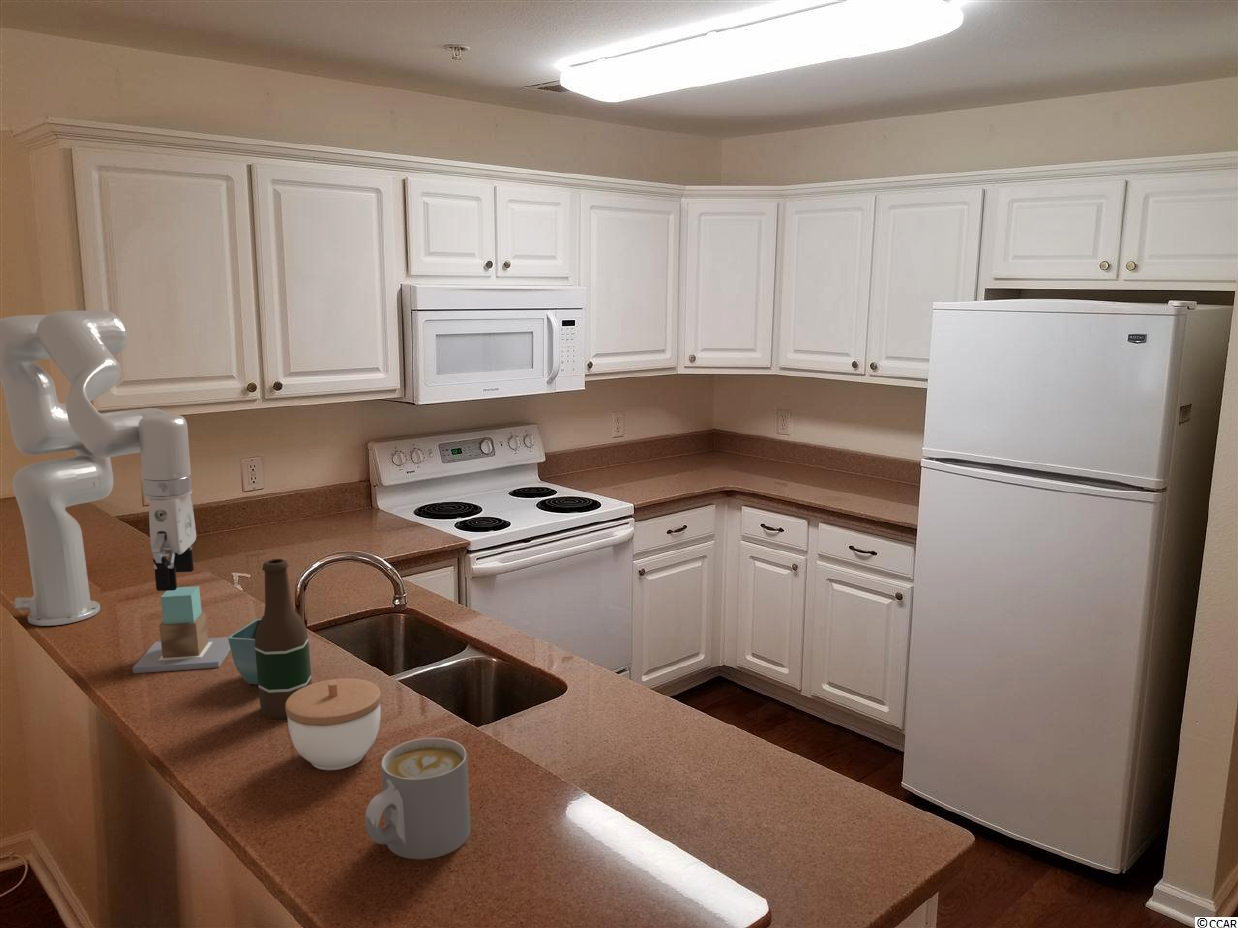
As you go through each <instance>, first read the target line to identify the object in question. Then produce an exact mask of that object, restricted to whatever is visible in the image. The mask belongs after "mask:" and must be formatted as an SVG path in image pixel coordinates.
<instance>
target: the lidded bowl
mask: <svg viewBox="0 0 1238 928" xmlns="http://www.w3.org/2000/svg"><path fill="white" fill-rule="evenodd" d="M381 701H382V693H381V689H380V687H379V686H378V685H376V683H374V682H371V681H369V680H366V679H362V678H361V679H360V678H352V677H351V678H349V677H347V678H344V677H343V678H333V679H327V680H321V681H317V682H314V683H312V684H311V685H308V686H305V687H303V688H301V689H299V690H297V691H296V692H294V693H293V694H292V695H291V696H290V697H289V698H288V699H287V701H286V705H285V708H286V714H287V718H288V719H287V726H288V732H289V735H290V739H291V741H292V744H293V746H294V748H295V749H296V751H297V752H298V754H300V756H301V757H302V758H303V759H305V760H306V761H308V762H309V763H311V765H312V766H313V767H314V768H315V769H319V770H322V771H338V770H343V769H346V768H347V769H348V768H350V767H352V766H354V765H357V764H358V763H360V762H361V761H362V760H363V759H364V757H365V755H366V754H367V752H369V750H370V749H371V747H372V746H373V745H374V743H375V741H376V740H377V736H378V734H379V729H380V725H381V715H382V712H381V711H382V709H381V708H382V707H381Z"/></svg>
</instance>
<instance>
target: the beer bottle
mask: <svg viewBox="0 0 1238 928" xmlns="http://www.w3.org/2000/svg"><path fill="white" fill-rule="evenodd" d="M289 566H290V565H289V563H288V561H287V560H285V559H282V558H273V559H267V560H266V561H265V562H264V563H263V564H262V571H264V596H265V597H264V602H265V603H264V612H263V613H264V614H263V616H262V618H260V619H261V621H260V623H259V624H258V627H257V630H256V634H255V653H256V664H257V675H258V684H257V685H258V694H259V697H258V698H259V704H260V711H261V713H262V715H264V716H266V717H268V718H269V719H270V720H283V719H287V720H288V718H287V714H286V708H285V705H286V701H287V699H288V698H289V697H290V696H291V695H292V694H293V693H294V692H296V691H297V690H299V689H301V688H303V687H305V686H308V685H311V684H313V683H312V669H311V657H310V646H309V635H308V629H307V626H306V624H305V622H304V619H303V618H302V616H300V614H299V613H298V612H297V611H296V610H295V608H294V605H293V604H294V603H293V601H292V595H291V589H290V583H289V576H288V575H289V574H288V567H289Z"/></svg>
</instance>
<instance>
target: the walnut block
mask: <svg viewBox="0 0 1238 928" xmlns="http://www.w3.org/2000/svg"><path fill="white" fill-rule="evenodd" d="M158 627H159V636H160V641H161V646H162V655H163V658H173V657H188V656H199V655H200V654H201V652H202V651H203V650H204V648H205V647H206V645H207V644H208V638H209V636H208V628H207V616H206V611H202V613H201V614H200V615H199V617H198V618H197V619H196V620H195V622H193V623H177V624H163V621H162V622H161V623H160V624H159V626H158Z"/></svg>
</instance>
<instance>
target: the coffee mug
mask: <svg viewBox="0 0 1238 928" xmlns="http://www.w3.org/2000/svg"><path fill="white" fill-rule="evenodd" d="M380 766H381V768H380V769H381V770H380V771H381V781H382V782H381V783H382V784H381V785H382V791H381V792H379V793H378V794H376V795H375V796H374V797H372V799H371V800H370V802H369V803H368V805H367V807H366V811H365V816H364V824H365V830H366V834H367V836H368V837H369V839H370V840H371V841H373V842H374V843H376V844H379V845H387V848H388V849H389V850H390V851H391V852H392V853H393V854H395V855H396V856H399V857H402V858H405V859H409V860H429V859H436V858H440V857H443V856H446V855H448V854H450V853H452V852H455V851H456V850H458V849H460V847H462V846H463V845H464V844H465V843H466V842H467V841H468V840H469V837H470V835H471V832H472V831H471V830H472V829H471V811H470V810H471V808H470V807H471V806H470V790H469V789H470V786H469V784H470V783H469V767H468V753H467V750H466V748H465V747H464V745H463V744H461V743H460V742H457V741H456V740H453V739H449V738H443V737H422V738H417V739H412V740H408V741H406V742H405V741H404V742H403V743H400V744H397V745H395V746H394V747H393V748H391V749H390V750H388V751H387V752H386V753H385V754H384V755H383V757H382V760H381V764H380ZM382 815H384V828H381V818H382Z"/></svg>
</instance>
